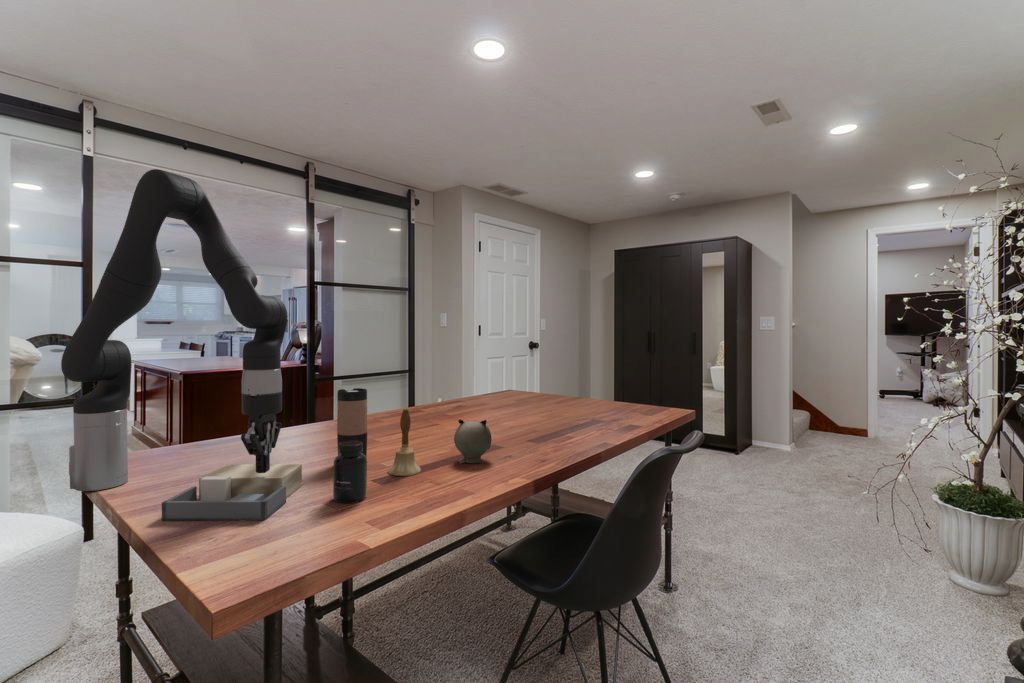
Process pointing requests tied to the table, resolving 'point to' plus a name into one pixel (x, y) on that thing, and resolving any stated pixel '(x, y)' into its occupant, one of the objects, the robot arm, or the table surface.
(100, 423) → the robot arm
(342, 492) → the supplement bottle
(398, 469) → the hand bell
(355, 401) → the travel mug
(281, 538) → the table surface
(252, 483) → the bench
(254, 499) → the slate tile
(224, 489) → the beige block
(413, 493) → the table surface
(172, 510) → the tray
